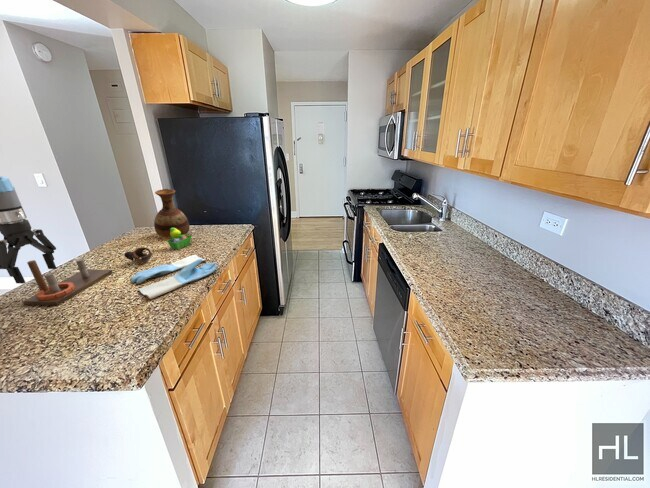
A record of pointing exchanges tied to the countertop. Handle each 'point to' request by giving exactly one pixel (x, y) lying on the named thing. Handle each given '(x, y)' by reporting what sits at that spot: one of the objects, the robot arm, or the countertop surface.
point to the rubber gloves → (171, 283)
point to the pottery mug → (138, 255)
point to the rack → (79, 280)
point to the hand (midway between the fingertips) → (37, 275)
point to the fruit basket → (178, 239)
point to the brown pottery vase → (169, 215)
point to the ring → (43, 286)
